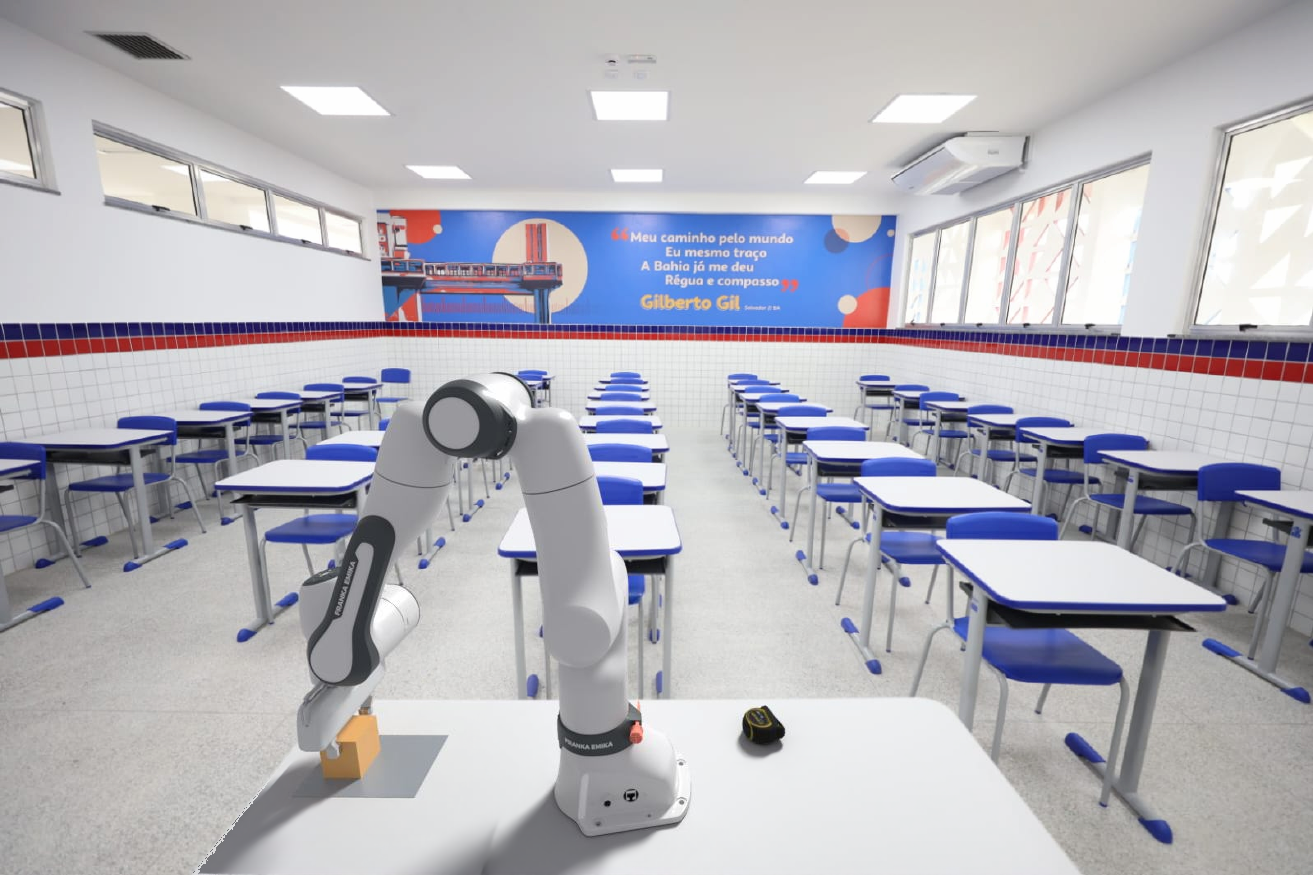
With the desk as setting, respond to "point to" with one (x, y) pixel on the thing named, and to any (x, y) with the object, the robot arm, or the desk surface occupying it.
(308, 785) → the plate
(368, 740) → the amber rectangular brick
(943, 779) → the desk surface
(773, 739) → the tape measure
